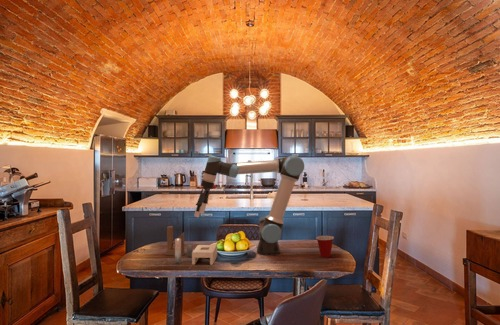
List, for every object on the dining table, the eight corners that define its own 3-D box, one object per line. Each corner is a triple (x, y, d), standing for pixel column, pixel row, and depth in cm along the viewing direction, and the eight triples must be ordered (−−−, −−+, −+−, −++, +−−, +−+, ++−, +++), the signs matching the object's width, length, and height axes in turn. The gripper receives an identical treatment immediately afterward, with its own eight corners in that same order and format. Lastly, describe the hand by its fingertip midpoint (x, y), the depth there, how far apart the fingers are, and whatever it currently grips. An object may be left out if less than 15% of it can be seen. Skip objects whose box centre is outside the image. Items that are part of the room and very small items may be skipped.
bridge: (217, 256, 200) (217, 245, 200) (212, 264, 184) (212, 252, 184) (198, 256, 200) (198, 244, 200) (192, 264, 184) (191, 252, 184)
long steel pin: (181, 261, 190) (181, 238, 189) (180, 263, 186) (180, 239, 186) (176, 261, 190) (175, 238, 190) (174, 263, 186) (174, 239, 186)
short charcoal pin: (193, 255, 201) (193, 244, 201) (191, 257, 198) (191, 246, 198) (187, 255, 201) (187, 244, 201) (186, 257, 198) (186, 246, 198)
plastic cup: (320, 252, 206) (320, 234, 206) (336, 255, 200) (336, 236, 200) (313, 256, 198) (313, 237, 197) (329, 259, 191) (329, 239, 191)
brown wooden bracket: (182, 255, 201) (182, 227, 201) (166, 255, 202) (166, 227, 202) (184, 254, 205) (184, 226, 204) (168, 253, 205) (167, 225, 205)
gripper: (206, 178, 205) (197, 210, 205) (197, 180, 180) (187, 216, 180) (217, 181, 204) (208, 213, 204) (210, 183, 180) (200, 220, 180)
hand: (198, 215), depth 192 cm, fingers open, 13 cm apart
